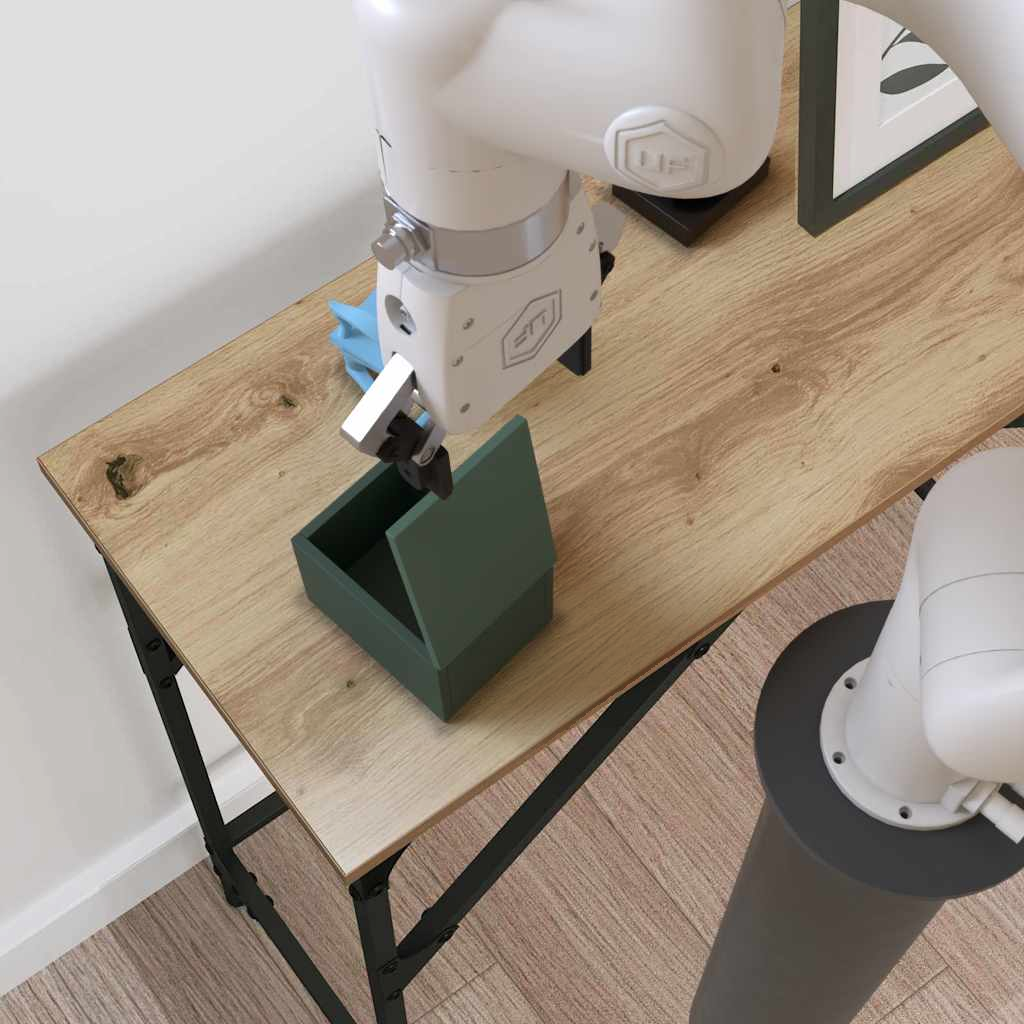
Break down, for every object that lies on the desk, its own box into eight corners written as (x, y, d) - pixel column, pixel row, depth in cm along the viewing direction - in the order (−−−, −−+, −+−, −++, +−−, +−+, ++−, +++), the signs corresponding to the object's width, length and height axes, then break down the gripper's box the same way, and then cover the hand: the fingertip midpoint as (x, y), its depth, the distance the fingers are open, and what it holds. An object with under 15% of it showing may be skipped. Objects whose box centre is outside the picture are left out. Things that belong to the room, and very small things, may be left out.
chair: (391, 322, 124) (376, 222, 114) (475, 377, 121) (468, 279, 111) (324, 389, 121) (303, 292, 111) (409, 447, 119) (396, 353, 108)
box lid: (384, 531, 89) (394, 539, 88) (517, 412, 92) (527, 419, 92) (432, 664, 100) (441, 671, 100) (549, 554, 104) (558, 560, 103)
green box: (307, 598, 113) (289, 539, 105) (415, 501, 116) (406, 437, 109) (445, 723, 108) (437, 671, 100) (553, 619, 112) (553, 560, 104)
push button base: (768, 176, 130) (774, 142, 127) (686, 248, 127) (690, 215, 123) (692, 125, 133) (696, 90, 130) (611, 194, 130) (613, 160, 126)
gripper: (385, 372, 61) (424, 577, 76) (689, 115, 67) (670, 354, 81) (254, 265, 64) (317, 483, 79) (556, 27, 69) (561, 273, 84)
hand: (496, 417), depth 80 cm, fingers open, 9 cm apart
